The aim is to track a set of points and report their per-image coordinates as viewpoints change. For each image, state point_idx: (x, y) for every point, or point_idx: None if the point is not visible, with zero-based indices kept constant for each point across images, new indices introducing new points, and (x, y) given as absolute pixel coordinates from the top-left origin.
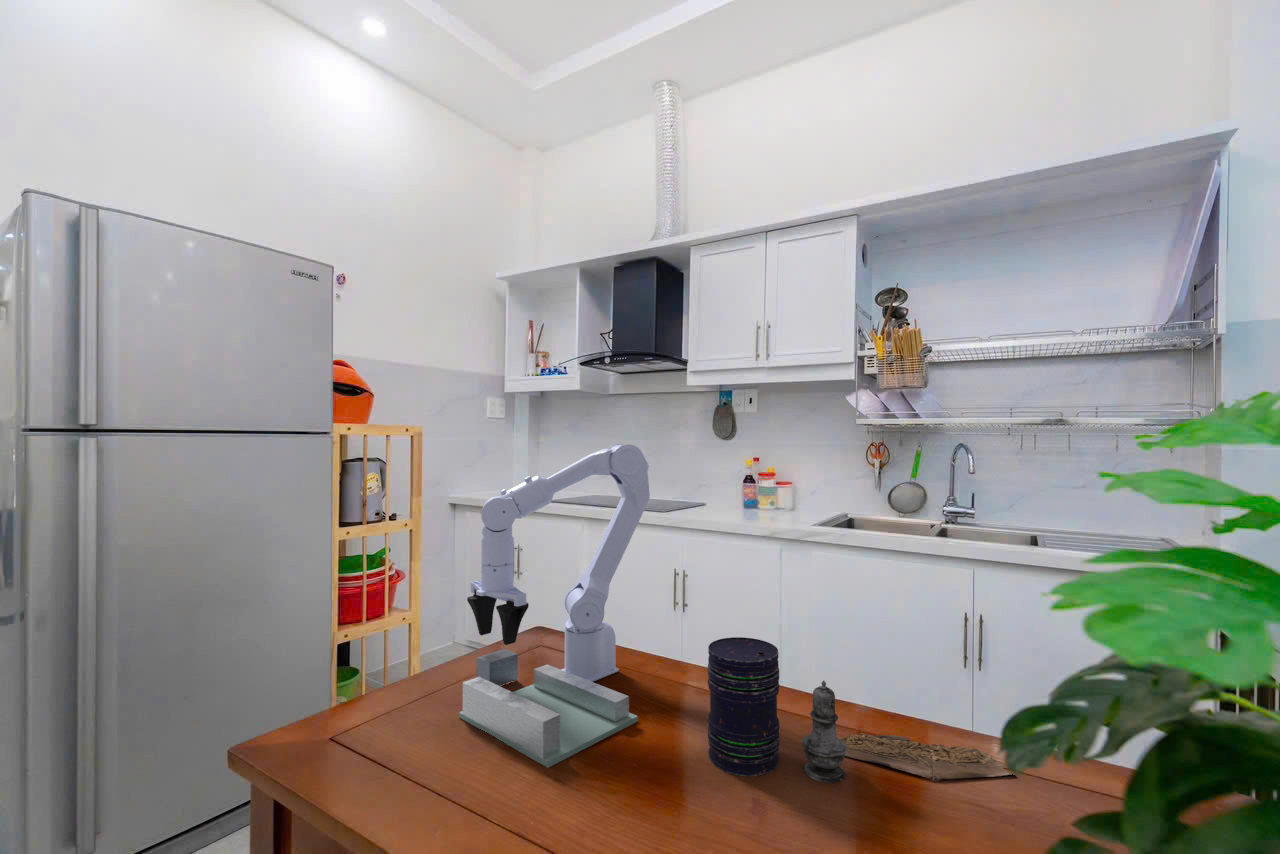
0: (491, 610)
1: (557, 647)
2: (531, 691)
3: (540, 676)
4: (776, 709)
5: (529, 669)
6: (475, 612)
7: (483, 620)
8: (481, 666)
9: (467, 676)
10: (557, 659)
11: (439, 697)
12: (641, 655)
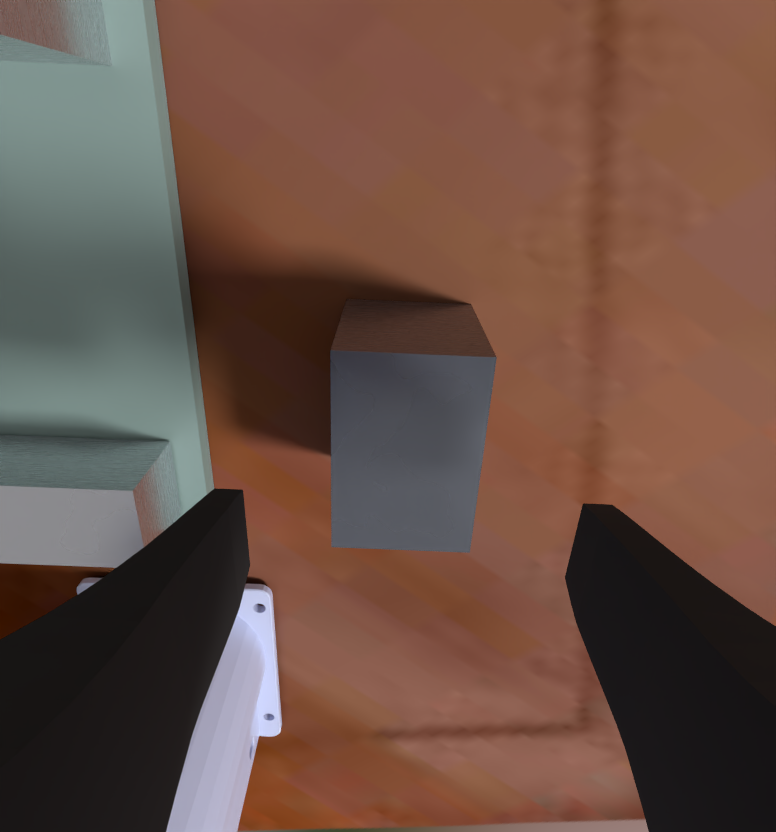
0: (647, 775)
1: (505, 743)
2: (128, 401)
3: (83, 474)
4: None
5: (412, 563)
6: (756, 648)
7: (633, 621)
8: (430, 338)
9: (607, 341)
10: (404, 679)
11: (506, 34)
12: None
